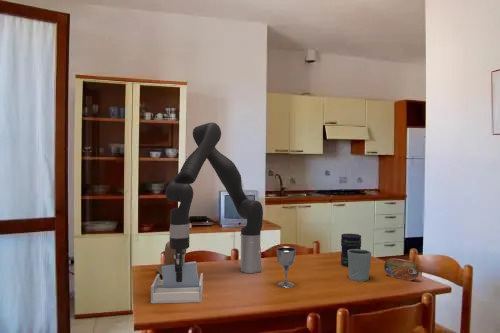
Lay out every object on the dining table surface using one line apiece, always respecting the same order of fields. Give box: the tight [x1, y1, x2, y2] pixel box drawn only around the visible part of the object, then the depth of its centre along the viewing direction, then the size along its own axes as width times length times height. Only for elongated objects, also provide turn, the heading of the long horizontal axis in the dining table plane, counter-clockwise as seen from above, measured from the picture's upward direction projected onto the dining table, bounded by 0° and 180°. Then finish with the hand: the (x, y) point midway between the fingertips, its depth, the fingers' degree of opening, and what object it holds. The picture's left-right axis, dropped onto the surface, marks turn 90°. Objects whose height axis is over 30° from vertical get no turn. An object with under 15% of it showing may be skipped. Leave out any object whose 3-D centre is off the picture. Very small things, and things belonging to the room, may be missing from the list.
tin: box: [383, 257, 420, 282], centre depth 174 cm, size 15×3×8 cm, turn 45°
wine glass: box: [276, 246, 297, 288], centre depth 163 cm, size 8×8×15 cm
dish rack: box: [150, 272, 204, 304], centre depth 150 cm, size 18×16×6 cm
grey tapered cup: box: [347, 249, 372, 282], centre depth 173 cm, size 10×10×12 cm
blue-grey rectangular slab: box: [161, 260, 199, 288], centre depth 150 cm, size 13×2×10 cm, turn 95°
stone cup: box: [155, 240, 187, 276], centre depth 177 cm, size 15×12×15 cm
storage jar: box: [340, 233, 362, 268], centre depth 195 cm, size 10×10×15 cm
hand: (179, 280), depth 150 cm, fingers closed on blue-grey rectangular slab, 2 cm apart
